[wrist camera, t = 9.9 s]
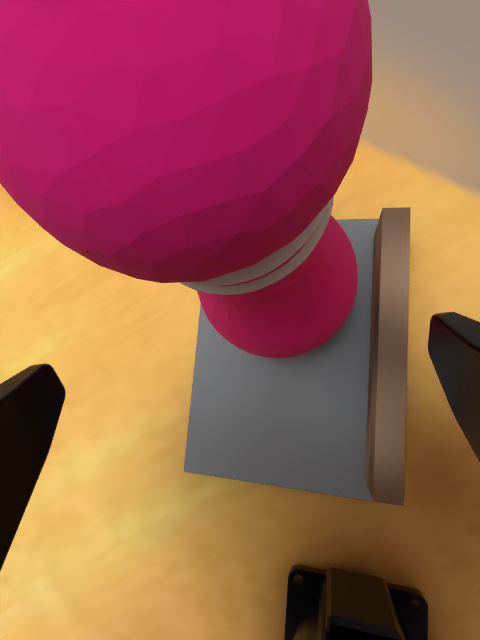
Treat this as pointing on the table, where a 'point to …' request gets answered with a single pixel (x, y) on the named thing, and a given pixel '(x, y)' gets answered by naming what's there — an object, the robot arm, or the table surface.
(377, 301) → the stop bar
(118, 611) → the table surface
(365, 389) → the mat
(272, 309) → the pepper mill
